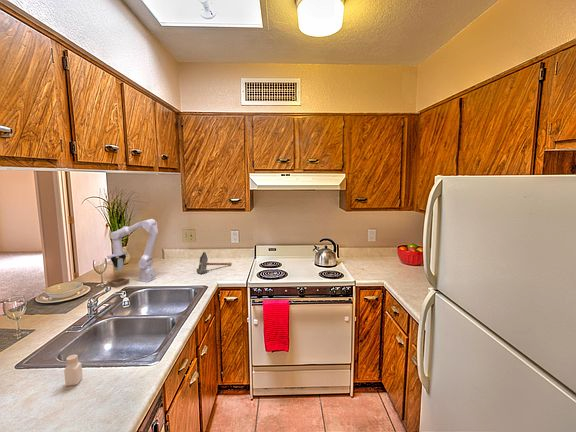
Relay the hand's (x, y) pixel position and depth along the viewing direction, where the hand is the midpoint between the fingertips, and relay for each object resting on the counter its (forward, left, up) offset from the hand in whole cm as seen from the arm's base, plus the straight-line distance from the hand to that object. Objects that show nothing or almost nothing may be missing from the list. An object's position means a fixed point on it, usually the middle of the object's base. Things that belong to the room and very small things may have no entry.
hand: (119, 266), depth 209 cm
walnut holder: (-9, +7, -10) cm, 15 cm away
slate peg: (0, 0, -2) cm, 2 cm away
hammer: (-48, -48, -10) cm, 68 cm away
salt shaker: (-87, +79, -10) cm, 118 cm away
